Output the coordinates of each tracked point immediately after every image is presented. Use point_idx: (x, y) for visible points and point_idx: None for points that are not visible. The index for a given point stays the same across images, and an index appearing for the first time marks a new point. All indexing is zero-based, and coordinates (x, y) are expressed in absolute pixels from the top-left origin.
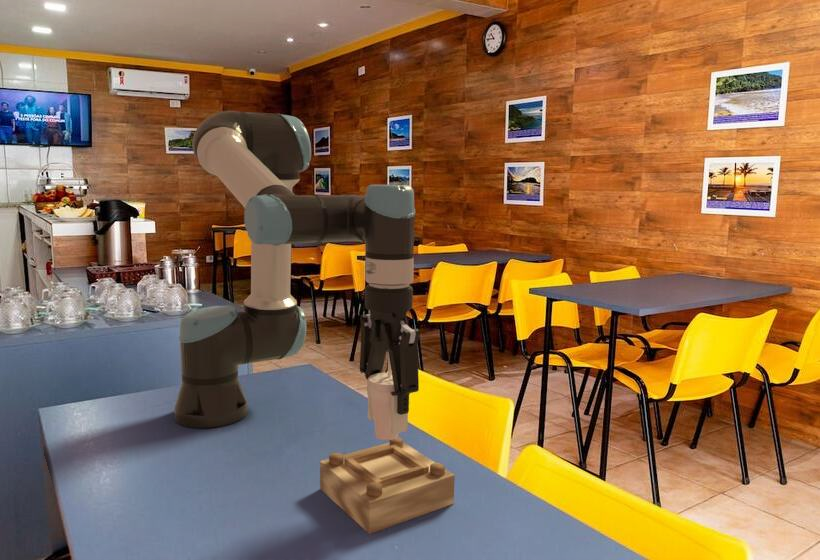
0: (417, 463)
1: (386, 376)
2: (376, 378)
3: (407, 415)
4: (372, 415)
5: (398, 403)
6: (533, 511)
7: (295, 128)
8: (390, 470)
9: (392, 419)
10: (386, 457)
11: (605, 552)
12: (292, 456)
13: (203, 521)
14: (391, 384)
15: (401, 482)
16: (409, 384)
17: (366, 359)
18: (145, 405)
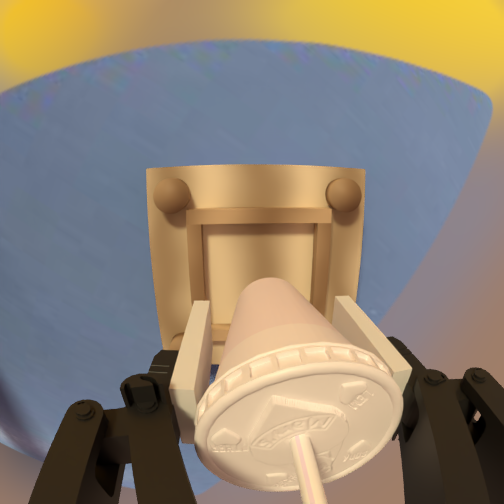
0: (305, 221)
1: (287, 449)
2: (265, 471)
3: (368, 318)
4: (211, 346)
5: None
6: (414, 92)
7: None
8: (274, 272)
9: None
10: (214, 247)
11: (491, 114)
12: (59, 317)
13: (191, 448)
14: (381, 449)
15: (328, 280)
16: (482, 422)
17: (112, 498)
18: None
